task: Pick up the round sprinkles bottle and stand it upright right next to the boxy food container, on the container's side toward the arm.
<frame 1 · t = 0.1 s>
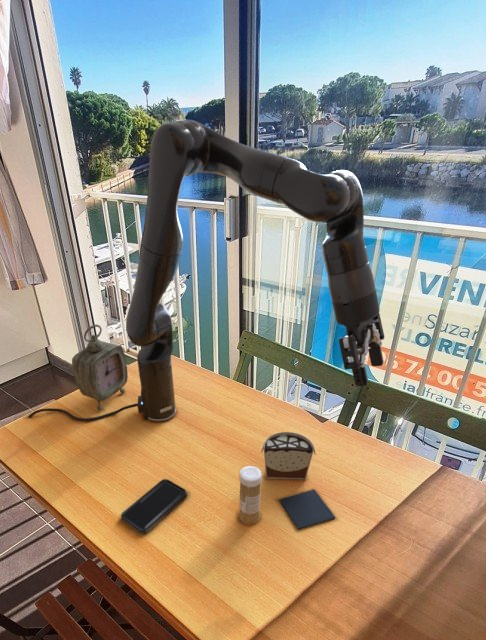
hand: (370, 375, 86), 31 cm above the table, tool tilted 20°, fingers open, 8 cm apart
tabletop clock: (105, 399, 142), on the table
phone: (155, 507, 104), on the table
food container: (284, 470, 111), on the table
sprinkles bottle: (249, 517, 100), on the table
slate coaster: (306, 509, 101), on the table
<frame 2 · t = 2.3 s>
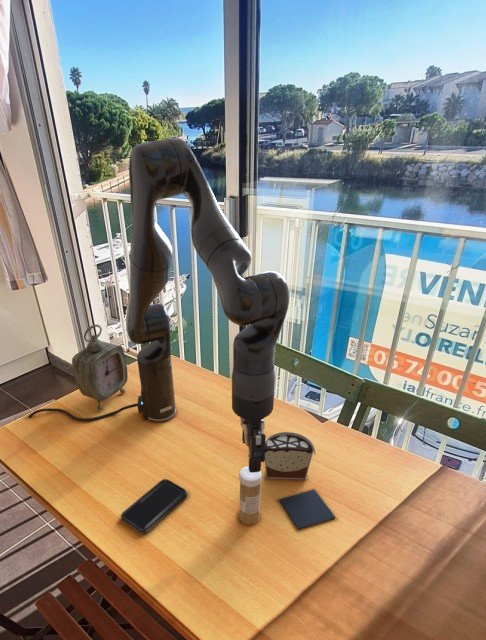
hand: (251, 456, 89), 18 cm above the table, tool pointing down, fingers open, 8 cm apart
nothing on the table moved.
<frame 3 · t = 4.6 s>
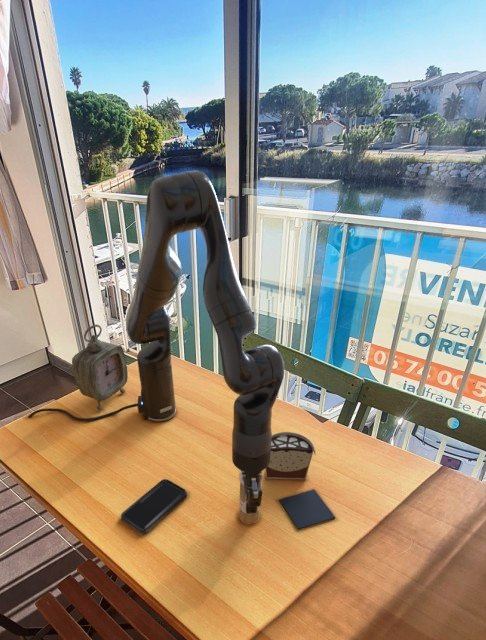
hand: (249, 503, 97), 4 cm above the table, tool pointing down, fingers closed on sprinkles bottle, 4 cm apart
sprinkles bottle: (249, 517, 100), on the table, touching gripper
everything else where it was.
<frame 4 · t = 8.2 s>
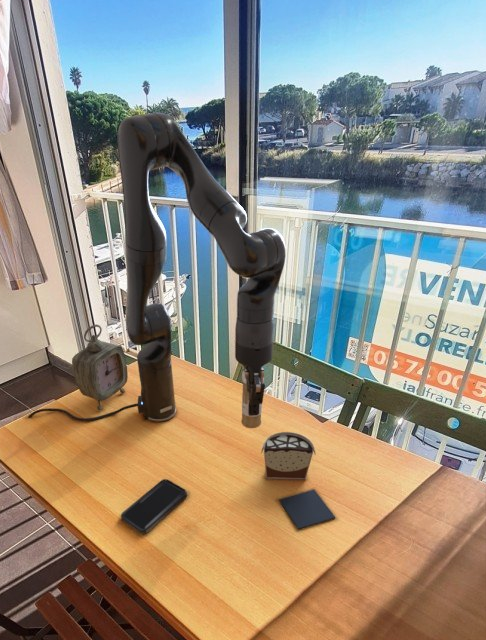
hand: (251, 407, 99), 20 cm above the table, tool pointing down, fingers closed on sprinkles bottle, 4 cm apart
sprinkles bottle: (251, 424, 102), point 16 cm above the table, touching gripper
everything else where it was.
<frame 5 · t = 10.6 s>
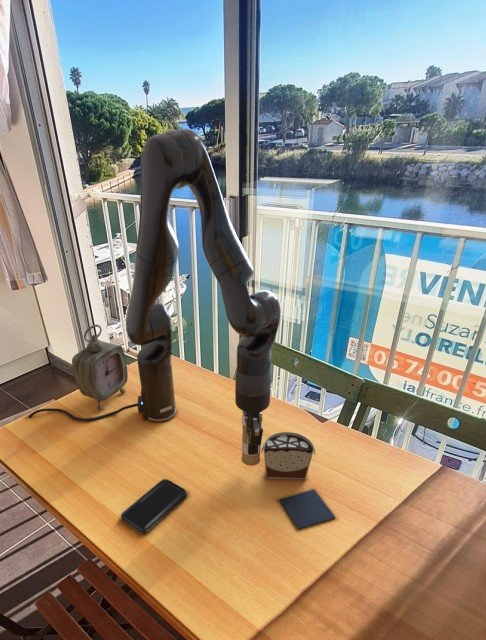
hand: (251, 446, 106), 8 cm above the table, tool pointing down, fingers closed on sprinkles bottle, 4 cm apart
sprinkles bottle: (250, 461, 109), point 4 cm above the table, touching gripper
everything else where it was.
when the fingers open (4 cm above the table, at t = 12.1 s): sprinkles bottle stays where it is, on the table.
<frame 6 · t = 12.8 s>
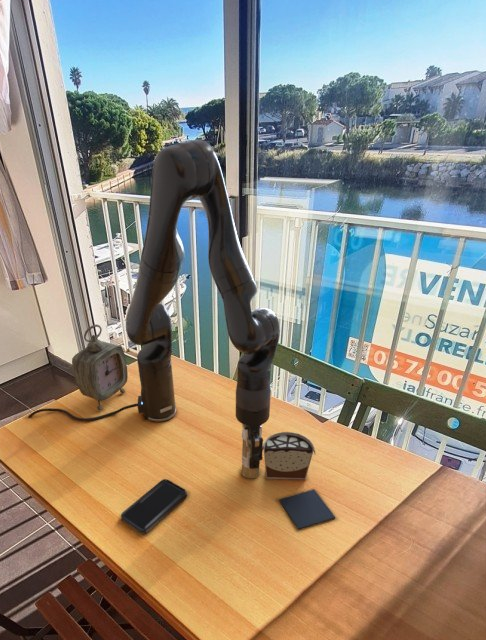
hand: (251, 455, 108), 6 cm above the table, tool pointing down, fingers open, 8 cm apart
sprinkles bottle: (250, 473, 111), on the table
everything else where it was.
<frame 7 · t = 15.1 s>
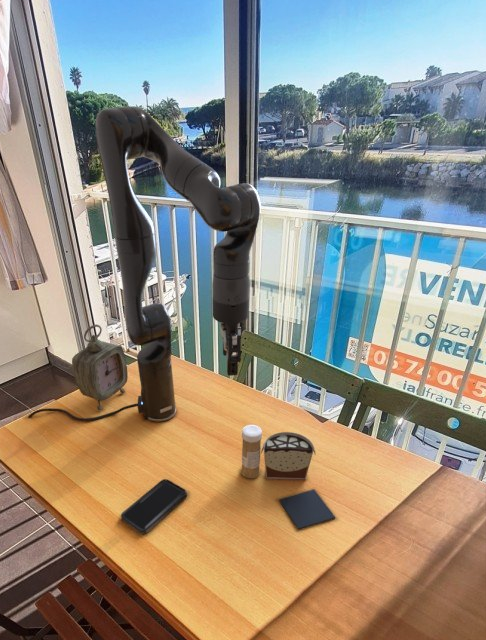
hand: (230, 364, 101), 27 cm above the table, tool pointing down, fingers open, 8 cm apart
nothing on the table moved.
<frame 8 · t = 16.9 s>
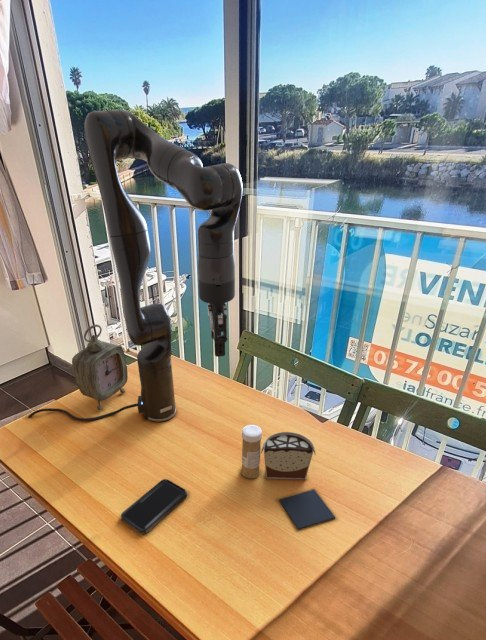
hand: (218, 346, 102), 30 cm above the table, tool pointing down, fingers open, 8 cm apart
nothing on the table moved.
at the end: sprinkles bottle 8.5 cm from the food container (horizontally); sprinkles bottle tilted 0°; food container moved 0.2 cm from its start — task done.
